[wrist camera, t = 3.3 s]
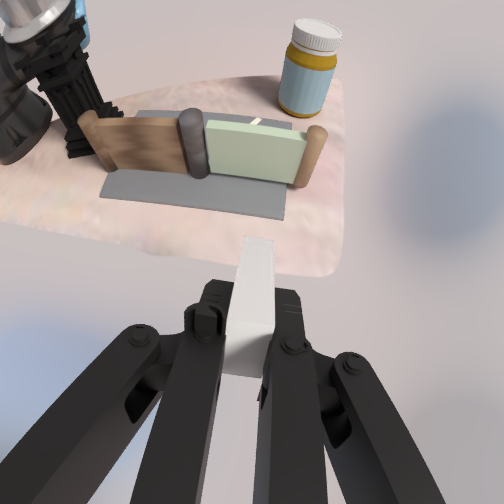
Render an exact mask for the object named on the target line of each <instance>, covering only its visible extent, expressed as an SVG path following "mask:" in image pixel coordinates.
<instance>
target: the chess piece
mask: <svg viewBox="0 0 504 504" xmlns="http://www.w3.org/2000/svg"><path fill="white" fill-rule="evenodd" d="M85 24H86V20H85V17H84V16H82V17H80V18H77V19H74V20H73V21H72V22H71V23H70V24H69V25H68V26H69V29H70V30H68V31H65V32H63V33H60V34H58V35H56V36H53V37H52V36H51V33H50V31H49V30H48V31H46V32H44V33H42V34H40V35H39V36H38V37H37V38H36V39H35V42H36V44H37V46H39V45H40V46H39V47H38V48H37V49H36V50H35V51H34V52H33V53H32V54H31V56H30V54H29V52H27V53H25V54H24V55H22V56H20V57H19V58H18V59H17V60H16V61H15V63H14V64H13V65H14V67H15V69H16V70H19V69H21V70H22V71H23V73H24V75H25V77H26V79H27V78H29V77H31V76H33V75H35V76H36V78H37V79H38V81H39V83H40V85H39V86H38V90H39V92H42V91H44V92H45V93H46V95H47V97H48V98H49V100H50V102H51V103H52V105H53V107H54V109H55V110H56V112H57V114H58V115H59V117H60V119H61V120H62V122H63V123H64V125H65V127H66V128H67V130H68V131H67V133H66V136H65V138H64V139H65V140H66V142H68V143H67V146H66V148H67V150H69V153H68V157H69V159H70V158H76V157H81V156H86V155H92V154H96V153H95V151H94V149H93V148H92V146H91V145H90V143H89V141H88V140H87V138H86V136H85V135H84V133H83V131H82V130H81V128H80V126H79V125H78V122H77V121H78V118H79V117H80V116H81V115H82V114H83V113H84V112H86V111H89V110H94V111H95V112H96V114H97V116H98V118H99V119H102V118H123V115H124V113H123V111H119V112H118V107H117V106H115V107H112V105H113V104H112V102H111V101H110V102H105V103H104V102H103V99H102V97H101V95H100V92H99V90H98V88H97V85H96V84H95V81H94V78H93V76H92V74H91V71H90V69H89V66H88V64H87V61H86V60H87V59H88V57H89V55H88V52H86V53H83V51H82V48H81V46H80V43H81V42H82V41H83V40H84V39H85V37H86V34H85V31H84V28H83V26H84V25H85ZM51 37H52V38H51Z"/></svg>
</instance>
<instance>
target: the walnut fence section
mask: <svg viewBox="0 0 504 504" xmlns="http://www.w3.org/2000/svg"><path fill="white" fill-rule="evenodd" d="M77 122H78V125H79V126H80V128H81V130H82V131H83V133H84V135H85V136H86V138H87V140H88V141H89V143H90V145H91V146H92V148H93V149H94V151H95V153H96V154H97V156H98V157H99V159H100V161H101V162H102V164H103V165H104V167H105V168H106V170H107V171H108V172H115V171H117V170H118V169H127V170H143V171H157V172H169V173H180V174H188V171H189V168H190V172H191V175H192V177H193V178H195V179H204V178H206V177H207V176H208V175H209V172H210V170H209V162H208V155H207V147H206V138H205V130H204V122H203V113H202V111H201V110H199V109H197V108H189V109H186V110H184V111H182V112H181V113H180V114H179V117H178V118H166V117H126V118H102V119H99V118H98V116H97V114H96V112H95V111H94V110H89V111H86V112H84V113H83V114H82V115H81V116H80V117H79V118H78V121H77Z"/></svg>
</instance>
